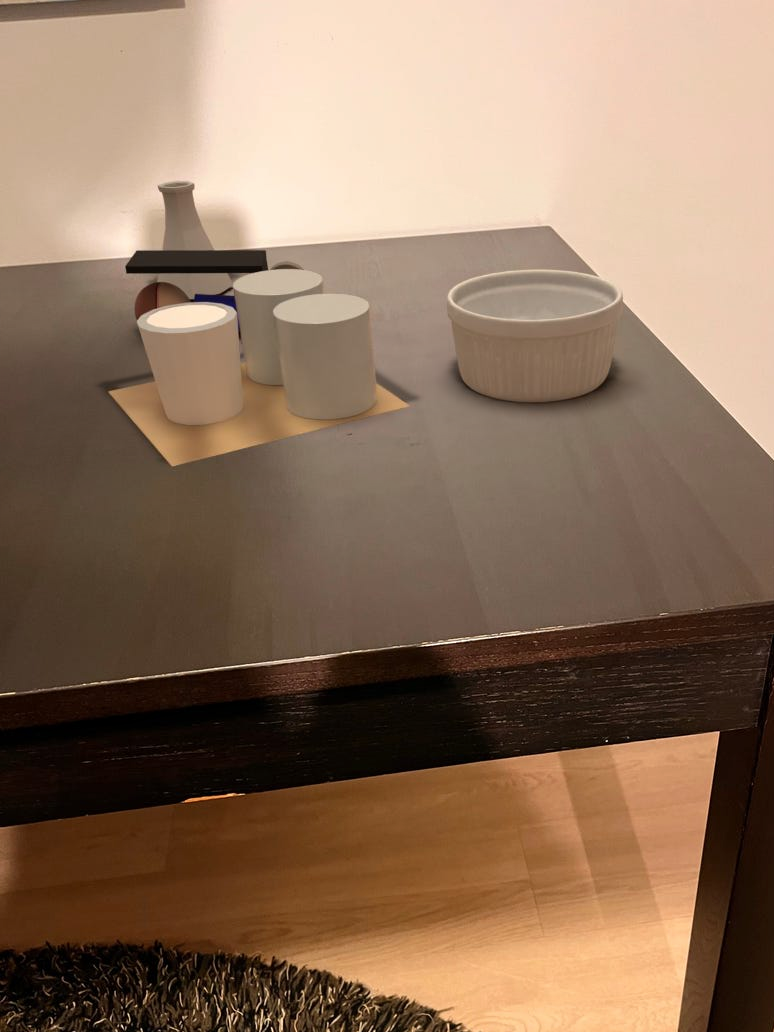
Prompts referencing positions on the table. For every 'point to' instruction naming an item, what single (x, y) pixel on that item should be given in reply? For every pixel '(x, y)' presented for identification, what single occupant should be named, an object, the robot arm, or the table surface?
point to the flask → (187, 240)
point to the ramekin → (534, 333)
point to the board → (229, 420)
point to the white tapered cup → (195, 360)
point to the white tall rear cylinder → (267, 316)
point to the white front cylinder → (326, 355)
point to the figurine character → (193, 263)
